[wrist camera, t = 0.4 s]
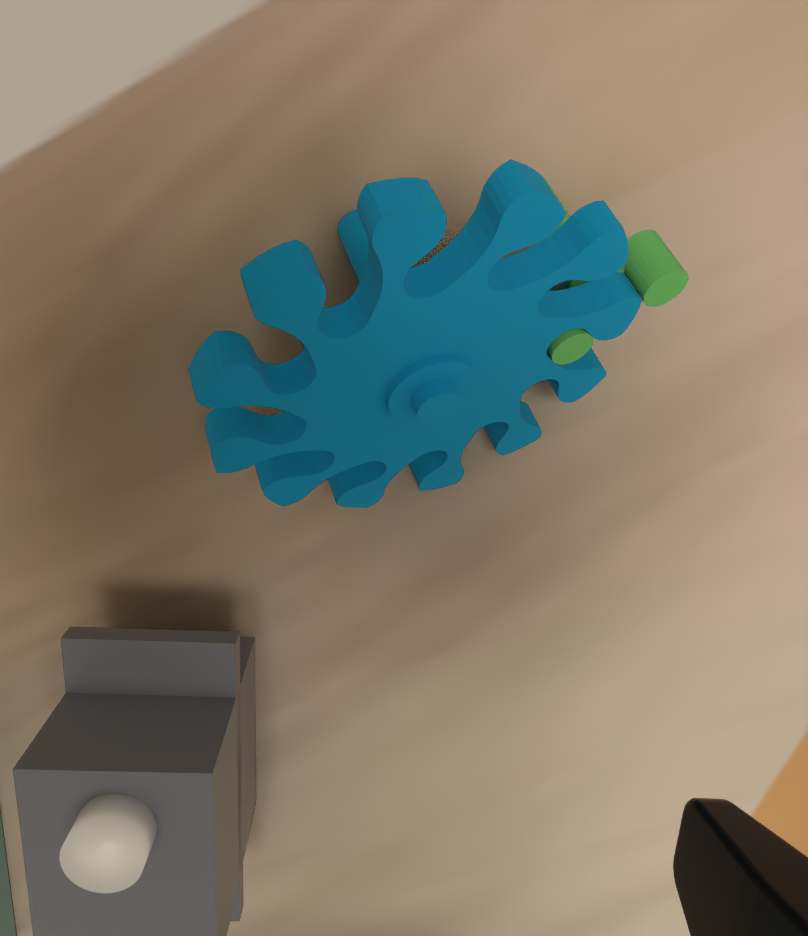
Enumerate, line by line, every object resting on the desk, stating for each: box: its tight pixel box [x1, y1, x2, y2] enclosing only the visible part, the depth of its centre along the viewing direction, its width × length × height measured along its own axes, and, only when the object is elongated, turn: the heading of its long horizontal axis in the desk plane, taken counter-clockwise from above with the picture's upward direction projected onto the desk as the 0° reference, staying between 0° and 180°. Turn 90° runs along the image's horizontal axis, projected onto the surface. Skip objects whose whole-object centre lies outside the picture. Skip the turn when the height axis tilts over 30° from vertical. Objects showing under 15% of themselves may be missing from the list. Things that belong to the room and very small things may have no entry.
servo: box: [13, 627, 256, 936], centre depth 20 cm, size 9×4×7 cm, turn 177°
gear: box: [188, 160, 688, 508], centre depth 17 cm, size 11×6×10 cm
